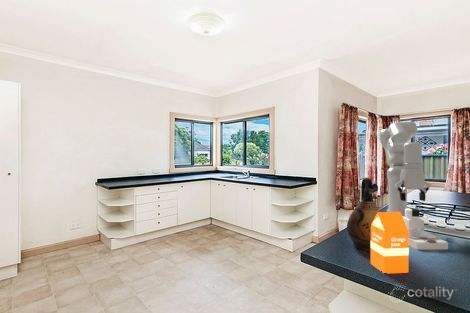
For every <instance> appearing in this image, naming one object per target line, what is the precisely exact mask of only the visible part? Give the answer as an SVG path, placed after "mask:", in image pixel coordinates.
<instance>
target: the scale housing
mask: <svg viewBox="0 0 470 313" xmlns="http://www.w3.org/2000/svg"><path fill="white" fill-rule="evenodd" d="M409 246H410V247H411V248H413V249H415V250H419V251H420V250H421V251H423V250H449V242H448V241H446V240H444V239H442V238H440V237H438V239H412V238H410V237H409Z"/></svg>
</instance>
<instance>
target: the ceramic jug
mask: <svg viewBox="0 0 470 313" xmlns="http://www.w3.org/2000/svg"><path fill="white" fill-rule="evenodd" d="M360 189H361V190H360V192H361V194H360V196H361V197H360V201H359V203H358V204H357V205H356V206H355V207H354V209H353V210H352V211H351V213H350V215H349V218H348V220H347V224H346V231H347V234H348V237H349V238H350V239H351V241H352V242H353V246H354V248H355V249H356V250H361V251H364V252H371V224H372V222H373V220H374V219H375V217H376V215H377V212H381V210H380V208H379V206H377V204H376V202H375V200H374V198H373V193H376V192H378V191H379V186H378V184H377V183H373V180H372V179H371V178H370V177H365V178H362V180H361V187H360Z"/></svg>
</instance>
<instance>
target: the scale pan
mask: <svg viewBox="0 0 470 313" xmlns="http://www.w3.org/2000/svg"><path fill="white" fill-rule="evenodd" d="M408 230H409V237H410V238H412V239H438V238H439V236H437V235H435V234H433V233H430V232H428V231H426V230H425V229H424V230H421V229H408Z"/></svg>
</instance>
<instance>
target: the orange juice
mask: <svg viewBox="0 0 470 313" xmlns="http://www.w3.org/2000/svg"><path fill="white" fill-rule="evenodd" d="M409 246H410V245H409V230H408V228H407V226H406V224H405V221H404V219H403V217H402V214H401V212H387V211H383V212H382V211H380V212H377V215H376V217H375V219H374V220H373V222H372V224H371V251H370V264H371V266H373V267H375V268H376V269H377V270H379V271H380V272H381V271H382V272H381V273H383V274H384V273H387V274H403V273H405V274H406V273H409V256H410V255H409V254H410V253H409V250H410V248H409Z"/></svg>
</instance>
